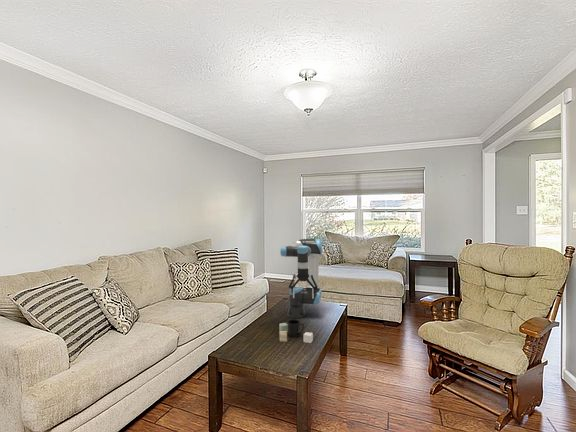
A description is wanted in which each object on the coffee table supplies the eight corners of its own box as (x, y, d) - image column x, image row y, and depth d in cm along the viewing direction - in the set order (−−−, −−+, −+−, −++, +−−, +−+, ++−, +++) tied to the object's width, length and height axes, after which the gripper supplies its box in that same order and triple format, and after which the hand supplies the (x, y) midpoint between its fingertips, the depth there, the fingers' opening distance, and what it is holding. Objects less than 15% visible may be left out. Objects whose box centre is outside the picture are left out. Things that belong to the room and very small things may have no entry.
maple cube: (279, 338, 205) (279, 331, 205) (286, 338, 205) (286, 331, 205) (279, 341, 200) (279, 334, 200) (287, 341, 200) (287, 334, 200)
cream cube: (305, 339, 204) (305, 331, 204) (312, 340, 202) (312, 332, 202) (303, 342, 199) (303, 334, 199) (310, 343, 197) (310, 335, 197)
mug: (301, 339, 203) (301, 325, 203) (285, 336, 209) (285, 322, 209) (306, 334, 211) (306, 321, 211) (291, 332, 216) (291, 318, 216)
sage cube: (279, 330, 220) (279, 323, 219) (285, 329, 221) (285, 322, 221) (281, 332, 215) (281, 326, 215) (287, 332, 216) (287, 325, 216)
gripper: (284, 268, 207) (285, 299, 208) (320, 269, 204) (321, 299, 205) (285, 266, 214) (286, 295, 215) (320, 266, 212) (321, 296, 213)
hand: (303, 297), depth 210 cm, fingers open, 13 cm apart
